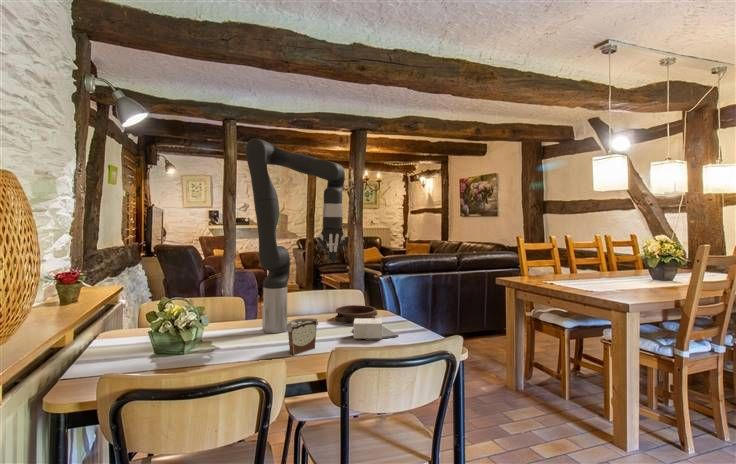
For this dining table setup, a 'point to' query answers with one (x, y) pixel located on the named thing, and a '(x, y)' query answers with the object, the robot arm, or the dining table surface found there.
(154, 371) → the dining table surface
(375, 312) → the dish
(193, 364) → the dining table surface
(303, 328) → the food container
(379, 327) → the small box
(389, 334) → the slate board
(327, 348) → the dining table surface
